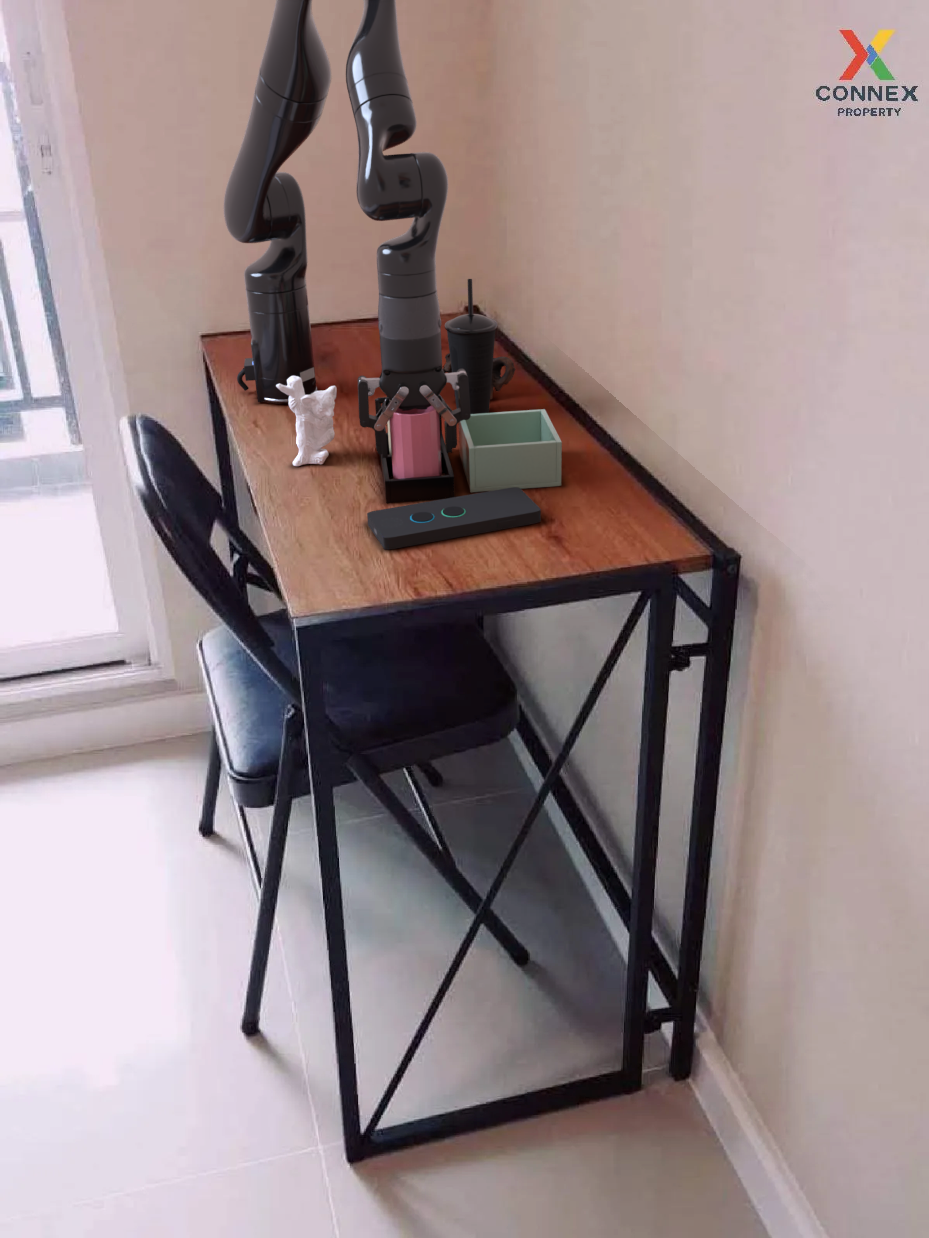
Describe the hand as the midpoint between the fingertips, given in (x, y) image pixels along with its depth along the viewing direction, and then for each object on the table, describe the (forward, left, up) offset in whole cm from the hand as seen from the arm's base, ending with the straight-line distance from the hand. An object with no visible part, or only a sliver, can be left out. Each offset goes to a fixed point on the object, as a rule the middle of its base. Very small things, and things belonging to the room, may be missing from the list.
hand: (416, 453), depth 152 cm
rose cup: (0, 0, -5) cm, 5 cm away
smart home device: (+3, -12, -5) cm, 13 cm away
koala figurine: (-14, +12, -5) cm, 19 cm away
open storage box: (+12, +3, -5) cm, 14 cm away
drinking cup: (+10, +26, -5) cm, 29 cm away
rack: (0, +4, -5) cm, 6 cm away
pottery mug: (+12, +35, -5) cm, 38 cm away
